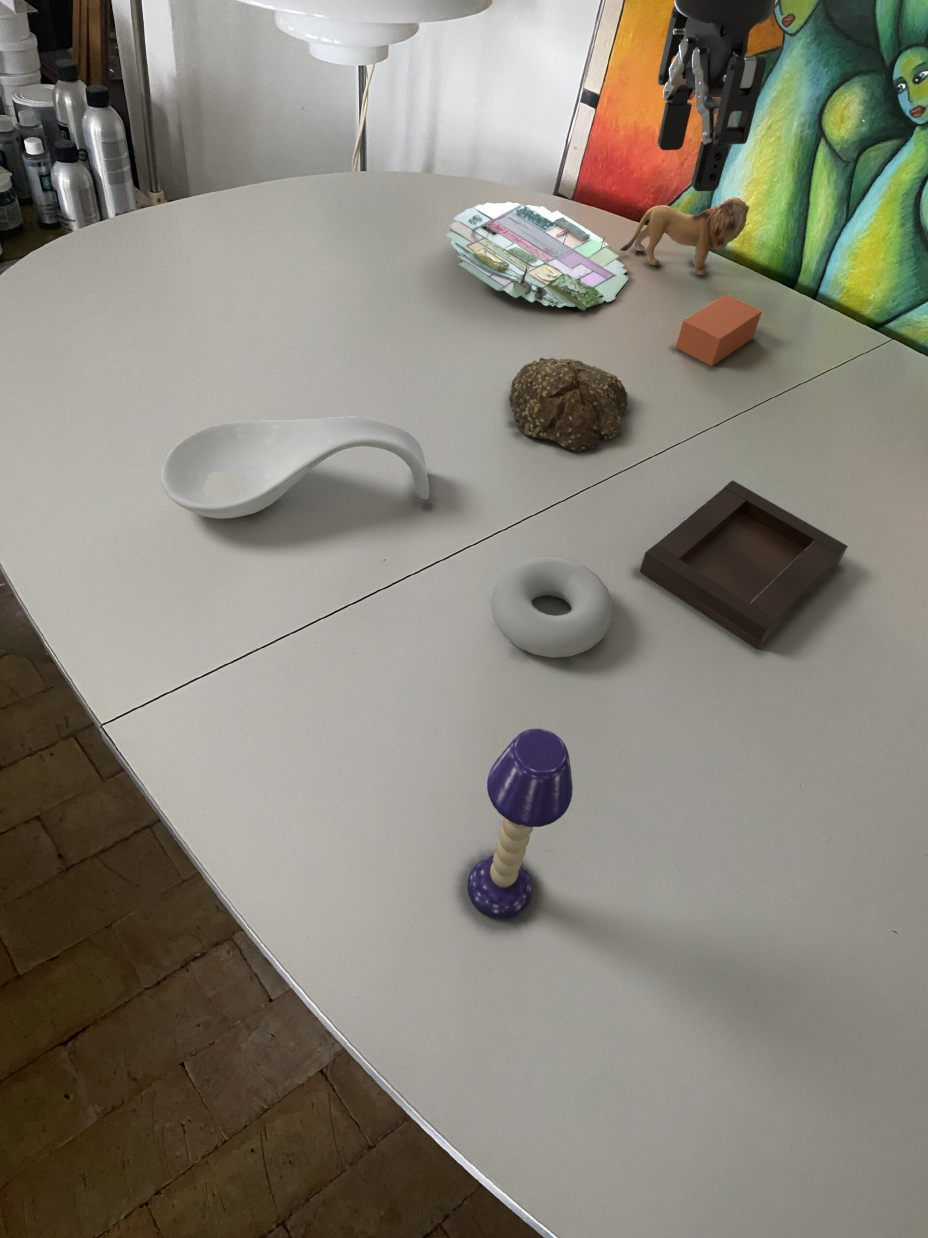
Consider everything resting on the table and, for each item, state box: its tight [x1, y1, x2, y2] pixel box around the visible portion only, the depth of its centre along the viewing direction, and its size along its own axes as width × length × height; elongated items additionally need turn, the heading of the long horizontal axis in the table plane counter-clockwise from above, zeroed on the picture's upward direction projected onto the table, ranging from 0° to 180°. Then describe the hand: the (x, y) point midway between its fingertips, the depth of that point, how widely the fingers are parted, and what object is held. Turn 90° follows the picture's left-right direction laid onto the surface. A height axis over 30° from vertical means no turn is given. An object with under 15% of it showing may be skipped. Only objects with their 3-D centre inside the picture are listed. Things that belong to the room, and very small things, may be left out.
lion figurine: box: [619, 196, 750, 277], centre depth 111 cm, size 15×5×9 cm, turn 79°
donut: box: [490, 555, 614, 659], centre depth 71 cm, size 10×4×10 cm
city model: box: [444, 201, 630, 312], centre depth 109 cm, size 25×23×6 cm
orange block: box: [675, 294, 763, 367], centre depth 101 cm, size 9×5×4 cm, turn 136°
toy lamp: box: [467, 728, 574, 920], centre depth 51 cm, size 5×5×17 cm
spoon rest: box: [160, 415, 430, 519], centre depth 78 cm, size 24×12×7 cm, turn 99°
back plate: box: [639, 479, 848, 650], centre depth 77 cm, size 14×12×2 cm
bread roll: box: [508, 357, 629, 453], centre depth 89 cm, size 13×12×5 cm
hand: (685, 167), depth 76 cm, fingers open, 8 cm apart
